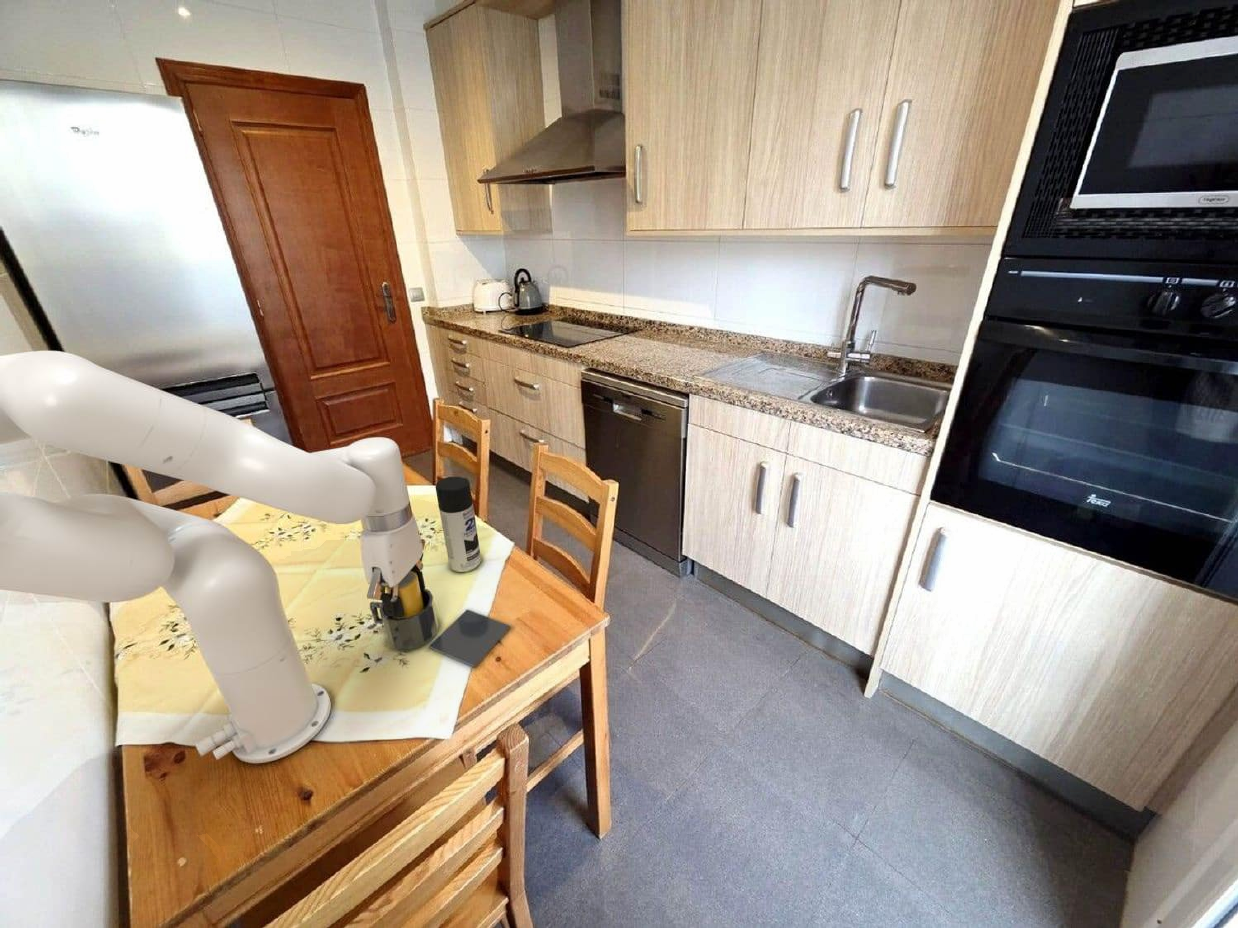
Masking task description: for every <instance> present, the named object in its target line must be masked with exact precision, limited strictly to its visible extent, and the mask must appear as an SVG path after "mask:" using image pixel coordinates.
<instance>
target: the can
mask: <svg viewBox="0 0 1238 928" xmlns="http://www.w3.org/2000/svg"><path fill="white" fill-rule="evenodd" d="M385 592H386V593H391V587H389V586H386V588H385ZM397 597H400V598H401V601H402V606H403V610H404V616H403V617H402V618H408V617H411V616H414V615H416V614H418V613H419V612H421V611H422V610H424V605H423V600H422V595H421V590H420V586H419V581H418V576H417V574H416V573H415V572H412V571H409V572H408V573H407V575H406V576H405V577H404V578H403V579H402V580H401V581H400V582H399V583H398V596H397ZM393 618H395V619H402V618H399V617H393Z"/></svg>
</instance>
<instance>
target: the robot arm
mask: <svg viewBox="0 0 1238 928" xmlns="http://www.w3.org/2000/svg"><path fill="white" fill-rule="evenodd" d="M29 438H33V439H35V440H37V441H39V442H41V443H44V444H45V445H49V446H52V447H55V448H58V449H61V450H64V451H69V452H72V453H76V454H80V455H84V456H87V457H91V458H94V459H95V458H96V459H98V460H99V459H100V460H103V461H107V462H110V463H114V464H119V465H123V466H128V467H132V468H135V469H139V470H143V471H147V472H151V473H154V474H158V475H163V476H167V477H170V478H174V479H178V480H182V481H185V482H188V483H189V482H190V483H193V484H196V485H199V486H202V487H205V488H208V489H210V490H214V491H217V492H220V493H222V494H226V495H230V496H233V497H237V498H241V499H244V500H247V501H251V502H255V503H258V504H260V505H264V506H267V507H270V508H273V509H275V510H280V511H283V512H286V513H288V514H289V513H290V514H293V515H297V516H301V517H304V518H308V519H313V520H317V521H321V522H325V523H329V524H334V525H348V524H353V523H356V522H359V521H360V524H361V528H362V530H361V532H360V539H359V540H360V554H361V561H362V567H363V572H364V576H365V580H366V583H367V584H368V585H369V586H368V589H367V593H366V599H367V600H368V599H369V600H374V601H375V600H376V601H381V602H382V603H383V607H384V611H385V614H386V615H387V616H392V617H399V618H402V617H403V616H404V610H403V606H402V601H401V598H400V597H397V596H398V583H399V582H400V581H401V580H402V579H403V578H404V577H405V576H406V575H407V573H408V572H409V571H412V572H415V573H416V574H417V576H418V581H419V586H420V590H421V591H423V590H424V589H426V583H425V579H424V573H423V569H424V564H423V557H424V549H425V545H426V540H425V539H423V538H422V537H421V532H420V530H419V526H418V523H417V520H416V518H415V515H414V512H413V511H412V505H411V500H410V495H409V490H408V484H407V480H406V476H405V475H406V474H405V469H404V466H403V465H404V464H403V461H402V456H401V451H400V448H399V445H398V443H396V442H395V441H394V440H393V439H391V438H388V437H383V436H377V437H376V436H375V437H367V438H363V439H359V440H357V441H354V442H353V443H351V444H349V445H347V446H341V447H336V448H331V449H325V450H318V451H312V452H307V451H305V450H303V449H301V448H298V447H296V446H293V445H292V444H289V443H286V442H284V441H282V440H281V439H278V438H276V437H274V436H272V435H270V434H268V433H267V432H265V431H263V430H261V429H259V428H258V427H255V426H254V425H252V424H249V423H248V422H245V421H243V420H241V419H238V418H236V417H234V416H232V415H231V414H230V415H229V414H227V413H224V412H222V411H219V410H216V409H213V408H211V407H208V406H206V405H203V404H199V403H196V402H194V401H191V400H189V399H187V398H183V397H180V396H179V395H175V394H173V393H170V392H167V391H164V390H162V389H159V388H157V387H153V386H151V385H149V384H146V383H144V382H141V381H138V380H135V379H134V378H130V377H128V376H125V375H122V374H121V373H117V372H115V371H112V370H110V369H107V368H104V367H102V366H99V365H98V364H96V363H94V362H92V361H90V360H88V359H87V358H85V357H82V356H80V355H77V354H73V353H70V352H65V351H60V350H35V351H34V350H33V351H25V352H17V353H11V354H5V355H4V354H3V355H0V446H2V445H5V444H10V443H13V442H18V441H21V440H22V441H23V440H25V439H29ZM272 565H273V564H271V562H269V560H268V559H267V558H266V556H265V555H263V554H262V552H260V551H259V550H258V549H256V548H255V547H254V546H253V545H251V544H250V542H249V543H248V541H246V540H244V539H243V538H242V537H240V536H239V535H238V534H237V533H235V532H233V530H231V529H229V528H228V527H226V526H224V525H222V524H221V523H219V522H216V521H214V520H212V519H208V518H205V517H203V516H202V517H201V516H198V515H194V514H190V513H186V512H183V511H179V510H176V509H172V508H168V507H164V506H160V505H156V504H153V503H150V502H146V501H142V500H139V499H134V498H131V497H126V496H122V495H116V494H107V493H88V494H81V495H80V494H79V495H75V496H72V497H69V498H66V499H62V500H60V501H57V502H56V503H55V502H52V501H48V500H46V499H42V498H38V497H34V496H30V495H26V494H25V495H24V494H20V493H14V492H7V491H0V590H3V591H9V592H10V591H11V592H17V593H26V594H32V595H33V594H34V595H42V596H49V597H58V598H65V599H73V600H80V601H86V602H95V603H113V604H114V603H123V602H130V601H134V600H138V599H140V598H144V597H146V596H148V595H150V594H153V593H154V592H156V591H157V590H159V589H160V588H162V589H163V591H165V593H166V594H167V595H168V596H169V598H170V599H171V600H173V602H174V603H175V604H176V606H178V608H179V610H180V611H181V612H182V614H183V616H184V617H185V619H186V620H187V623H188V625H189V627H190V629H191V632H192V635H193V638H194V640H195V643H196V646H197V648H198V650H199V652H200V654H201V657H202V659H203V660H204V663H205V665H206V667H207V668H208V670H209V672H210V674H211V676H212V678H213V681H214V682H215V684H216V687H217V689H218V691H219V692H220V694H221V697H222V699H223V701H224V703H225V705H226V707H227V709H228V711H229V713H228V714H227V718H228V719H229V721H228V722H227V723H225V724H223V725H222V726H221V727H222V729H220V730H218V731H217V732H215V733H213V734H211V735H210V734H209V736H207V737H204V738H203V739H201V740H200V741H198V742H197V743H195V744H194V745H195V748H196V749H197V752H198V754H199V756H200V757H201V758H202V757H204V756H205V755H207V754H209V753H210V752H212V754H213V756H214V757H215V759H216V761H218V760H220V759H221V758H223V757H224V756H227V755H228V754H229V753H230V752H232V753H233V754H234V756H235V757H236V758H237V759H238V760H239V761H242V762H245V763H248V764H263V763H264V764H265V763H269V762H273V761H277V760H279V759H282V758H284V757H287V756H289V755H290V754H292V753H294V752H296V751H298V750H299V749H300V748H302V747H304V746H305V745H306V744H308V743H309V742H310V741H311V740H313V739H314V738H315V736H317V734H318V733H319V732H320V731H321V730H322V728H323V727H324V725H325V724H326V723H327V720H328V718H329V717H330V713H331V710H332V709H331V708H332V702H331V699H330V695H329V694H328V691H327V690H326V689H325V688H324V687H323V686H321V685H320V684H316V683H312V682H311V679H310V676H309V674H308V671H307V668H306V665H305V663H304V660H303V658H302V655H301V653H300V650H299V647H298V645H297V641H296V638H295V635H294V633H293V631H292V629H291V626H290V624H289V621H288V618H287V614H286V612H285V609H284V605H283V602H282V596H281V591H280V583H279V578H278V575H277V573H276V571H275V569H274V567H273V566H272ZM386 586H389V587H391V593H387V592H386ZM227 741H228V742H227Z"/></svg>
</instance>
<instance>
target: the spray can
mask: <svg viewBox="0 0 1238 928" xmlns="http://www.w3.org/2000/svg"><path fill="white" fill-rule="evenodd" d="M435 492H436V499H437V505H438V510H439V516H440V521H441V527H442V532H443V537H444V543H445V548H446V553H447V559H448V564H449V567H450V569H451V570H453V571H454V572H457V573H469V572H471V571H473V570H476V569H477V568H478V567H479V566H480V565H481V563H482V556H481V549H480V542H479V535H478V529H477V522H476V515H475V508H474V501H473V495H472V490H471V484H470V480H469V479H468V478H466V477H461V476H447V477H443V478H442V479H439V481H437V482H436V484H435Z"/></svg>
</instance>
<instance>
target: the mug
mask: <svg viewBox="0 0 1238 928" xmlns="http://www.w3.org/2000/svg"><path fill="white" fill-rule="evenodd" d="M421 595H422V600H423V605H424V610H422V611H421V612H419V613H418V614H416V615H414V616H411V617H408V618H402V619H395V618H393V617H392V616H387V615H386V614H385V611H384V607H383V603H382V601H375V600H374V601H370V602H369V608H370V612H371V616H372V619H373V623H375V624H377V625H378V624H379V625H382V626H383V629H384V633H385V637H386V640H387V643H388V645H389V646H390V648H392V650H396V651H400V652H411V651H415V650H419V649H420V648H423V647H424V646H426V645H428V644H429V643H430V642H432V641H433V640H434V638H436V635H437V634H438V631H439V620H438V616H437V611H436V606H435V605H436V604H435V601H434V596H433V594H432V592H431V591H430V590H429V589H427V588H425V589H424V590H423V591H421ZM378 609H379V610H378Z"/></svg>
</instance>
